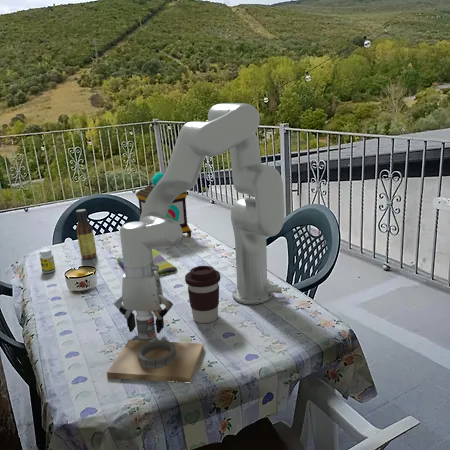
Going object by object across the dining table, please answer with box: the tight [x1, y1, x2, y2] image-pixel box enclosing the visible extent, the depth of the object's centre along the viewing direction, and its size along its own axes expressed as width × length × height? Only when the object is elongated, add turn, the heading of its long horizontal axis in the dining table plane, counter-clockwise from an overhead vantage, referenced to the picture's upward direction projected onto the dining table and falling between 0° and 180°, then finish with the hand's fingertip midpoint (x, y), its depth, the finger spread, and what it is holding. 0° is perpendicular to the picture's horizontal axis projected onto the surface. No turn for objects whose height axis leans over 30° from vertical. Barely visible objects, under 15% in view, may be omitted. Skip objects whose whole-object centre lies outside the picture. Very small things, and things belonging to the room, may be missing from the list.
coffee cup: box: [184, 265, 221, 324], centre depth 128 cm, size 10×10×15 cm
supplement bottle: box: [39, 248, 56, 274], centre depth 170 cm, size 5×5×8 cm
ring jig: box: [106, 339, 205, 383], centre depth 109 cm, size 20×14×4 cm
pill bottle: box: [135, 311, 156, 341], centre depth 121 cm, size 5×5×8 cm
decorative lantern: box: [135, 171, 192, 238], centre depth 198 cm, size 20×20×30 cm
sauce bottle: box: [75, 208, 98, 260], centre depth 181 cm, size 7×6×20 cm
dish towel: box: [116, 249, 178, 277], centre depth 170 cm, size 18×24×3 cm
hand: (146, 329), depth 121 cm, fingers open, 7 cm apart
